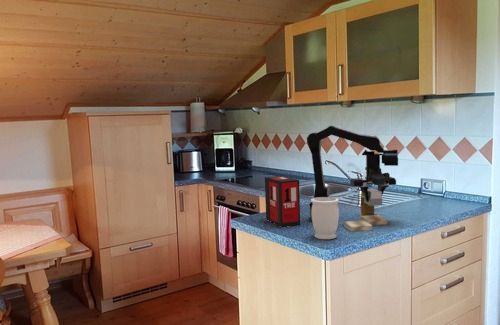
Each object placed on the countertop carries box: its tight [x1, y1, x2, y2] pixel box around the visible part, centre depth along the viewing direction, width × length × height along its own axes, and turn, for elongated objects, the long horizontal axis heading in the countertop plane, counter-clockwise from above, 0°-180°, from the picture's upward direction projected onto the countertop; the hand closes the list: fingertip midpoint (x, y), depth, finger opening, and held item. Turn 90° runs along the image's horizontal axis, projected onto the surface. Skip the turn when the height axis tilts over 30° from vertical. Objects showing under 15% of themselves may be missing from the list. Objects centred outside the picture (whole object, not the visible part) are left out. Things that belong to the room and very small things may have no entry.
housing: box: [364, 188, 383, 207], centre depth 192 cm, size 5×7×6 cm
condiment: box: [358, 192, 379, 216], centre depth 206 cm, size 7×8×12 cm
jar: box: [310, 196, 340, 240], centre depth 172 cm, size 11×10×15 cm
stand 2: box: [359, 214, 389, 226], centre depth 193 cm, size 9×9×2 cm
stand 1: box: [343, 220, 373, 233], centre depth 184 cm, size 9×9×2 cm
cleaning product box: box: [264, 175, 301, 228], centre depth 197 cm, size 16×9×20 cm, turn 22°
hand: (373, 201), depth 192 cm, fingers closed on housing, 5 cm apart
